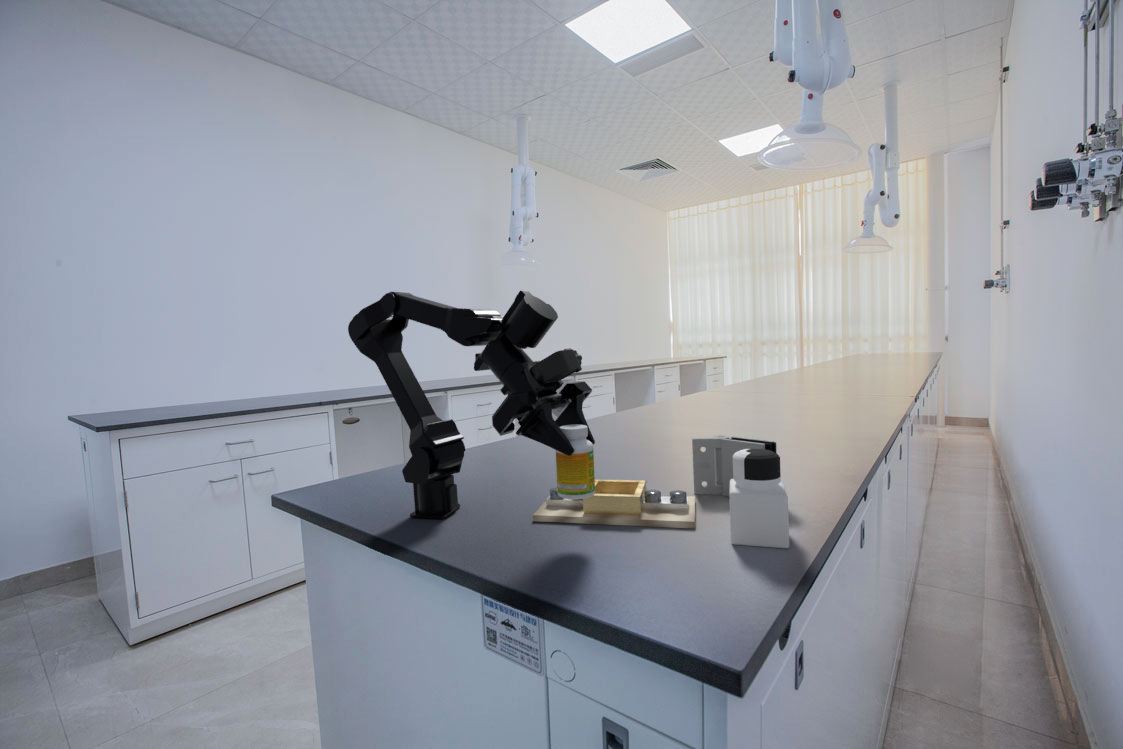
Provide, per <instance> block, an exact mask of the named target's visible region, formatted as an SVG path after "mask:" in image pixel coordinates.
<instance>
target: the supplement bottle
mask: <svg viewBox="0 0 1123 749" xmlns="http://www.w3.org/2000/svg"><path fill="white" fill-rule="evenodd" d="M559 428H560V429H561V430H562V432H563V433H564V435H565V436H566V438H567V439H568V440H569V442H570V443H571V445H572V447H573V448H574V452H573V454H572V455H570V456H568V455H566V454H564V453H561V452H559V451H557V450H555V449H554V451H555V467H556V469H555V473H556V487H557V493H558V495H559V496H560V497H562V498H565V499H584V498H588V497H591V496H593V495H594V493H595V479H596V478H595V477H596V476H595V456H594V455H595V454H594V445H593V444H592V443H591V442H590V441H589V440H587V439H586V437H587V436H588V429H587V426H586V425H577V424H576V425H564V426H561V427H559Z"/></svg>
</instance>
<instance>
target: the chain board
mask: <svg viewBox="0 0 1123 749" xmlns="http://www.w3.org/2000/svg"><path fill="white" fill-rule="evenodd" d="M687 497H688V504H689V505H688V512H679V511H652V510H643V511H642V514H641V516H627V515H602V514H584V511H583V508H570V507H546V500H545V501H544V502H543V503H542V504H541V505H540V507H539V508H538V509H537V510H536V511H535V512H534V513H533V514H532V522H542V523H545V522H547V523H549V522H550V523H561V524H562V523H563V524H565V523H567V524H568V523H569V524H585V525H586V524H588V525H591V524H592V525H611V526H613V525H614V526H631V527H652V528H653V527H655V528H675V529H676V528H677V529H678V528H679V529H695V528H696V496H694V495H693V496H692V495H691V496H689V495H687Z"/></svg>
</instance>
